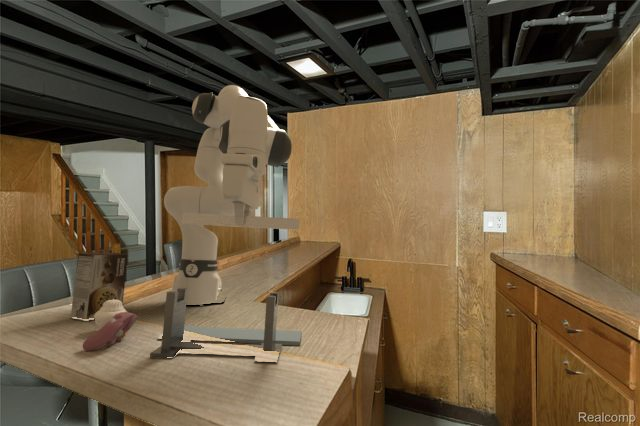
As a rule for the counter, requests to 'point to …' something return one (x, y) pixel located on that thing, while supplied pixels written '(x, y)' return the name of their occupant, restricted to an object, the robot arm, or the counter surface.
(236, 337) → the slate mat
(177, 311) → the rail rack
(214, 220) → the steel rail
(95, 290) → the coffee box
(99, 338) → the video game controller
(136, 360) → the counter surface
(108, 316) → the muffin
